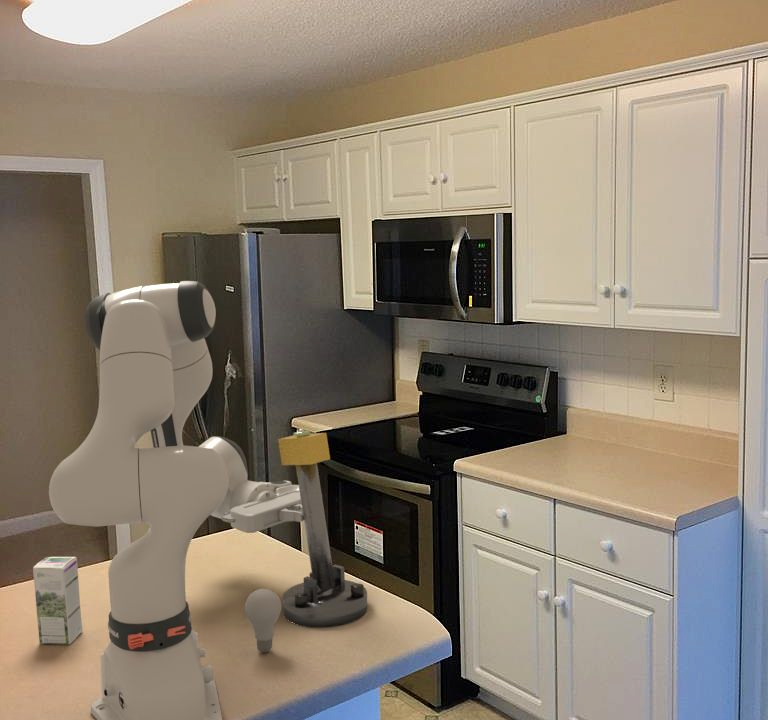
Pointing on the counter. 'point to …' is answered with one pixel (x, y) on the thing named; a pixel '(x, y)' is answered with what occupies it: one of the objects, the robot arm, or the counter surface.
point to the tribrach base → (325, 602)
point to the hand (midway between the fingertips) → (306, 515)
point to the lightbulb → (263, 616)
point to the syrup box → (57, 600)
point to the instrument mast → (311, 499)
